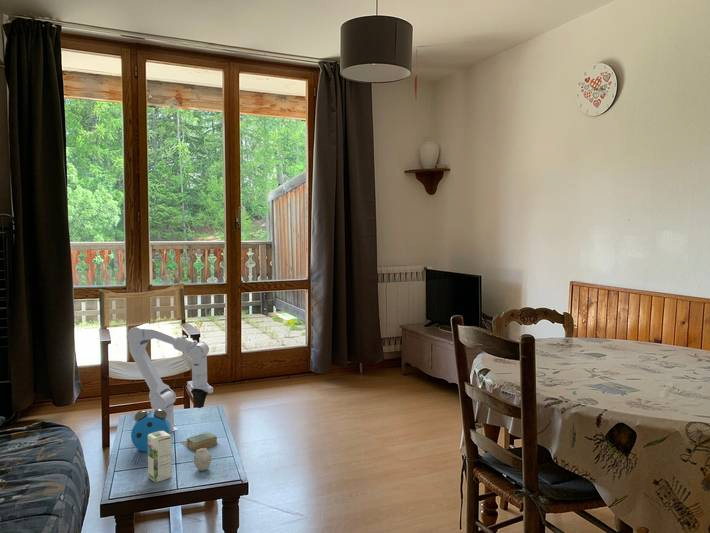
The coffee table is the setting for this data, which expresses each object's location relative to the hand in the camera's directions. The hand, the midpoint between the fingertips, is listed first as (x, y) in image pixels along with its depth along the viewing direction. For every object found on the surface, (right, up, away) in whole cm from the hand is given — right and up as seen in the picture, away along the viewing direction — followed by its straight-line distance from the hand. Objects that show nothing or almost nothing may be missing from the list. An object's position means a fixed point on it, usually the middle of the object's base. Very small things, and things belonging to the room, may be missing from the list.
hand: (200, 407), depth 212 cm
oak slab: (+2, -9, -10) cm, 14 cm away
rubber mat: (+3, -11, -11) cm, 16 cm away
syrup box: (-2, -13, -37) cm, 40 cm away
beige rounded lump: (+10, -13, -32) cm, 36 cm away
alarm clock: (-14, -12, -15) cm, 24 cm away
